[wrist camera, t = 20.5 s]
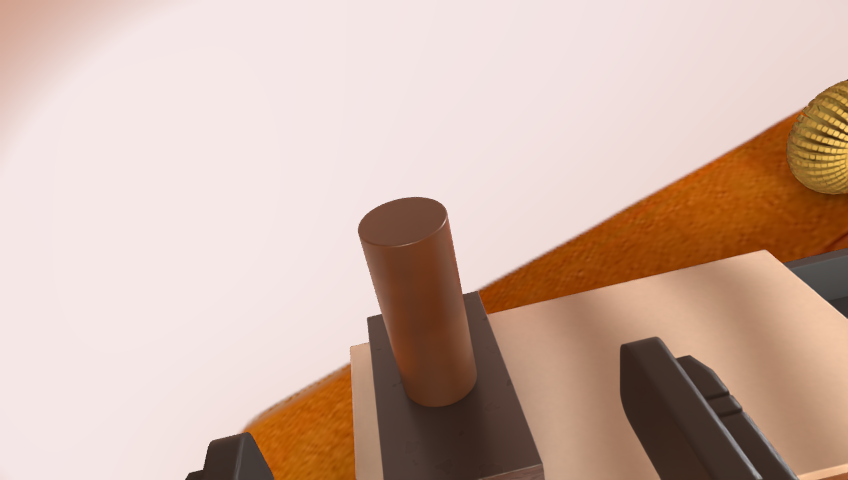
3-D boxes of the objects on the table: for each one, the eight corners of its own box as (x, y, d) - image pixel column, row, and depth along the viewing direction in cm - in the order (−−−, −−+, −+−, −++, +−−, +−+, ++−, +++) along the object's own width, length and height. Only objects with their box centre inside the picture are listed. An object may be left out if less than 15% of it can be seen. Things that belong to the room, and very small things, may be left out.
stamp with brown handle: (401, 545, 19) (322, 335, 14) (378, 356, 27) (322, 175, 22) (548, 508, 19) (523, 286, 14) (484, 330, 27) (453, 145, 22)
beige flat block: (398, 663, 22) (359, 582, 18) (378, 427, 31) (349, 346, 28) (927, 533, 22) (981, 432, 19) (749, 339, 31) (765, 248, 28)
